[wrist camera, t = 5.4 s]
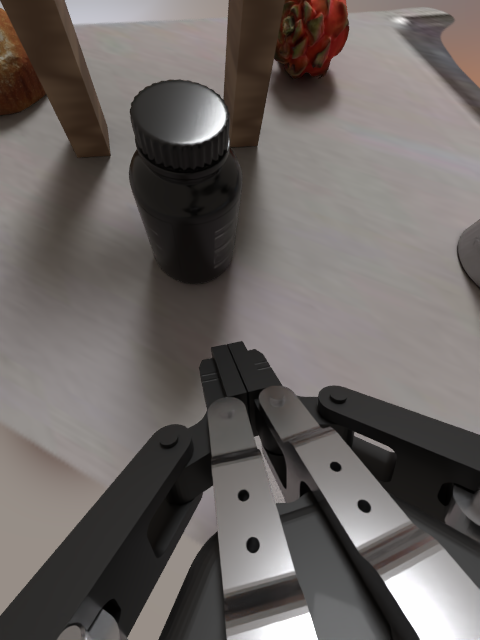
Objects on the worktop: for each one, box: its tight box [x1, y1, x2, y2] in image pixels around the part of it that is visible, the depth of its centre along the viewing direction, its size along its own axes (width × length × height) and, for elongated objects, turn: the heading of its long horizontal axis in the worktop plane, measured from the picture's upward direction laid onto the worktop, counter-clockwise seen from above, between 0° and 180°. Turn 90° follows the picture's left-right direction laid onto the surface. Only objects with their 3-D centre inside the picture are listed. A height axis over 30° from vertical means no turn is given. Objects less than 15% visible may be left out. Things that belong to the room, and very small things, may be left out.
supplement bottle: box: [129, 79, 242, 284], centre depth 19 cm, size 7×7×12 cm
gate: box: [0, 0, 285, 158], centre depth 21 cm, size 18×4×16 cm, turn 104°
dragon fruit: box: [274, 0, 349, 79], centre depth 32 cm, size 8×8×12 cm
